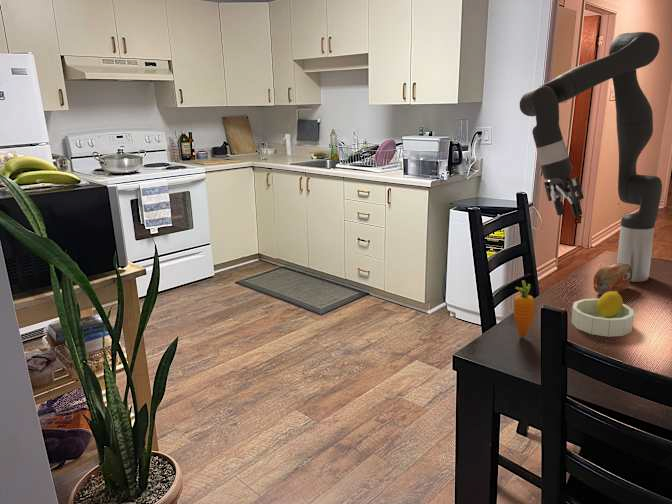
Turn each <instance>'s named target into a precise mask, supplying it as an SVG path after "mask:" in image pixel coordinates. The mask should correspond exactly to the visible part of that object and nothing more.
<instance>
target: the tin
mask: <svg viewBox="0 0 672 504" xmlns="http://www.w3.org/2000/svg"><path fill="white" fill-rule="evenodd" d="M631 278H632V269H631V267H630V266H629V265H628V264H623V263H617V262H616V263H613V264H610V265H607V266H603V267H600V268H599V269H598V270H597V271H596V273H595V274H594V277H593V289H594V291H595V292H596V293H597V294H599V295H601V296H602V295H603V294H605V293H606V292H610V291H612V292H615V291H617V292H618V293H619V292H622V291H625V290H626V289H628V287H629V286H630V285H631V282H632V281H631Z"/></svg>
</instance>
